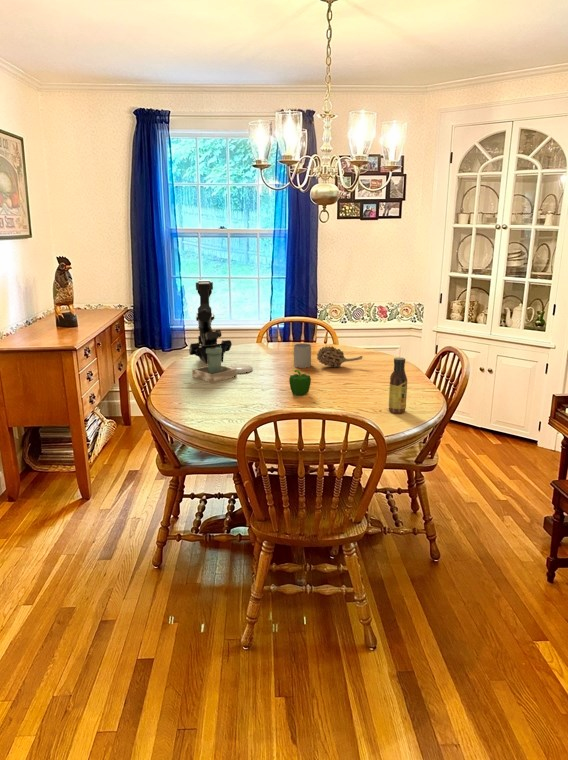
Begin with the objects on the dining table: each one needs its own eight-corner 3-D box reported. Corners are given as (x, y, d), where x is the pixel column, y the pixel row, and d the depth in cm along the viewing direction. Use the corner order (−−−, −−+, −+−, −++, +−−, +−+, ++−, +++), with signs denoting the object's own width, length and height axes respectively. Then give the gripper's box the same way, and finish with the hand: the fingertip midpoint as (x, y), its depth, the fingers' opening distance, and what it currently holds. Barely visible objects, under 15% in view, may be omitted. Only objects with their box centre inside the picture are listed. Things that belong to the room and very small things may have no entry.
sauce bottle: (404, 415, 202) (406, 361, 196) (386, 413, 204) (389, 360, 198) (407, 409, 208) (410, 357, 202) (390, 407, 210) (392, 355, 204)
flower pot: (203, 376, 253) (202, 348, 249) (215, 373, 257) (215, 346, 254) (213, 379, 248) (212, 351, 244) (225, 376, 253) (225, 348, 249)
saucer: (221, 370, 263) (221, 368, 263) (240, 365, 271) (240, 363, 271) (238, 375, 255) (238, 372, 255) (257, 370, 263) (257, 367, 263)
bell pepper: (314, 395, 225) (314, 371, 222) (296, 398, 221) (296, 374, 218) (303, 390, 232) (303, 366, 229) (286, 393, 228) (286, 369, 225)
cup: (313, 366, 268) (314, 346, 265) (298, 368, 265) (297, 348, 262) (306, 362, 275) (306, 342, 272) (291, 364, 272) (291, 344, 270)
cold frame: (192, 377, 253) (192, 369, 252) (216, 370, 262) (216, 363, 261) (212, 382, 243) (211, 375, 242) (236, 376, 253) (236, 368, 252)
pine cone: (316, 369, 263) (316, 348, 260) (317, 364, 272) (317, 344, 270) (363, 370, 261) (364, 349, 258) (362, 364, 270) (363, 344, 268)
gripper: (189, 325, 246) (197, 355, 239) (229, 322, 253) (238, 351, 247) (185, 339, 255) (193, 369, 248) (225, 336, 262) (233, 364, 256)
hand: (214, 363), depth 250 cm, fingers closed on flower pot, 7 cm apart
